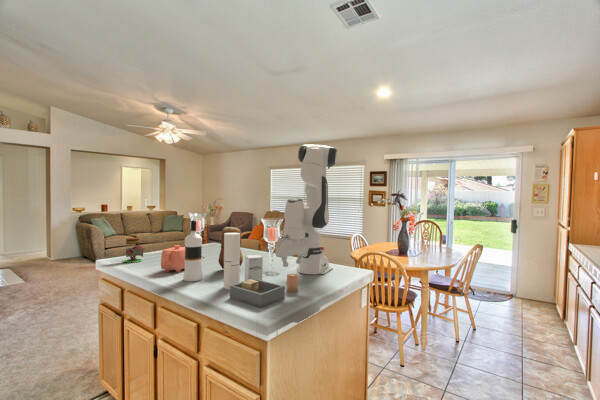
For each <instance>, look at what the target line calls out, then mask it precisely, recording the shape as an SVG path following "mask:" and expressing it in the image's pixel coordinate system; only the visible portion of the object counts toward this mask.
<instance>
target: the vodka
mask: <svg viewBox="0 0 600 400" xmlns="http://www.w3.org/2000/svg"><path fill="white" fill-rule="evenodd" d="M184 247H185V269H183V270H184V271H183V277H182V278H183V281H185V282H188V283H189V282H190V283H193V282H198V281H201V280H202V279H203V277H204V275H203V268H202V267H203V266H202V261H203V259H202V252H203V251H202V247H203V237H202V236H201V235H200V234H198V233H197V220H190V234H188V235H187V236H186V237H184Z"/></svg>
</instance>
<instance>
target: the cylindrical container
mask: <svg viewBox="0 0 600 400" xmlns="http://www.w3.org/2000/svg"><path fill="white" fill-rule="evenodd" d="M240 250H241V245H240V233H224V269H223V289H225V290H230V286H231V285H235V284H238V283H240V267H241V266H240Z"/></svg>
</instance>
